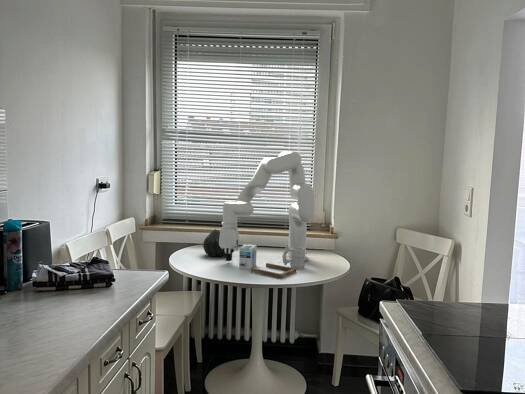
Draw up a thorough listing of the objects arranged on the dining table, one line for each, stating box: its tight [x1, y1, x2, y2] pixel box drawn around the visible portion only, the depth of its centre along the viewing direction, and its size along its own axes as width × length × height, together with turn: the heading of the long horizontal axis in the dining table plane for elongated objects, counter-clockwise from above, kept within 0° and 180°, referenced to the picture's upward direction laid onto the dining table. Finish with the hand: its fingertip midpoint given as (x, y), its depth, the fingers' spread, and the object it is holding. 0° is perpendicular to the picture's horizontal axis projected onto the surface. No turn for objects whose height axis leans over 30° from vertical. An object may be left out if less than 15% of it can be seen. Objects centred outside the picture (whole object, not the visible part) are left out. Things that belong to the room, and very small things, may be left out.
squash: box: [202, 228, 226, 258], centre depth 250 cm, size 14×15×15 cm
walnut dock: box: [250, 262, 298, 280], centre depth 219 cm, size 14×17×2 cm
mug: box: [281, 243, 306, 270], centre depth 229 cm, size 8×12×12 cm, turn 94°
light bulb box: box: [238, 243, 258, 271], centre depth 227 cm, size 11×7×11 cm, turn 168°
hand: (228, 260), depth 234 cm, fingers closed
